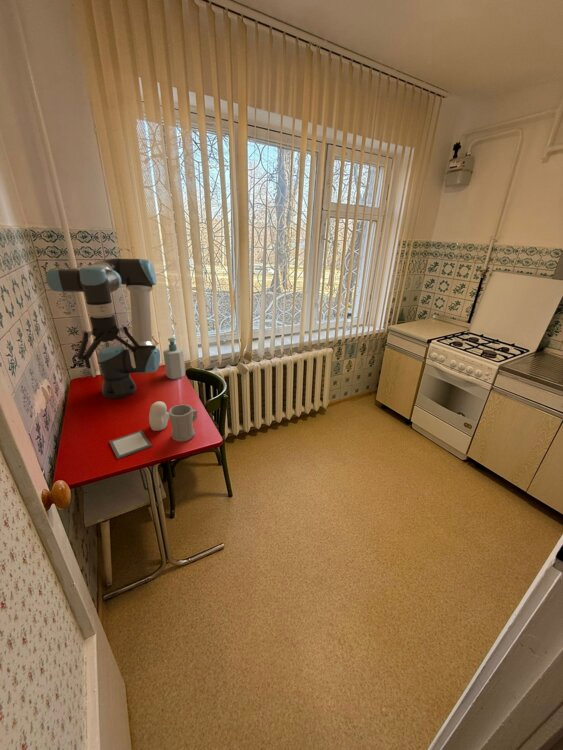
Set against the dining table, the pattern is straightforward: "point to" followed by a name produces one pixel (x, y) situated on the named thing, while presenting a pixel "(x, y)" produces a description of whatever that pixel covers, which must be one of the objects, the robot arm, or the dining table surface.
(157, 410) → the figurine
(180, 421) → the cup
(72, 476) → the dining table surface
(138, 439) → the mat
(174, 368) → the soap bottle
